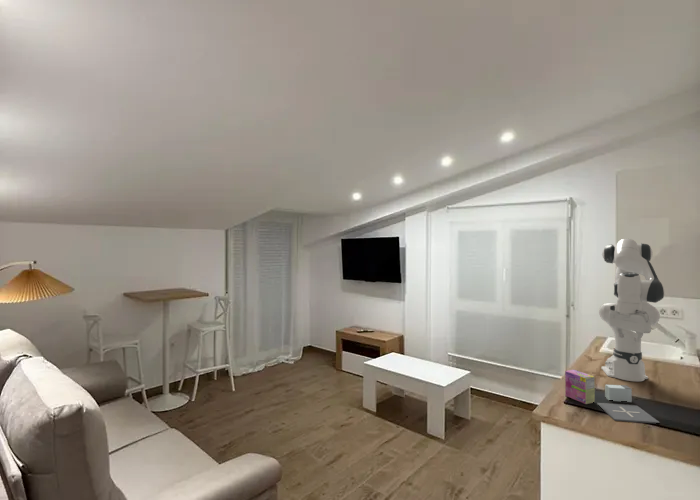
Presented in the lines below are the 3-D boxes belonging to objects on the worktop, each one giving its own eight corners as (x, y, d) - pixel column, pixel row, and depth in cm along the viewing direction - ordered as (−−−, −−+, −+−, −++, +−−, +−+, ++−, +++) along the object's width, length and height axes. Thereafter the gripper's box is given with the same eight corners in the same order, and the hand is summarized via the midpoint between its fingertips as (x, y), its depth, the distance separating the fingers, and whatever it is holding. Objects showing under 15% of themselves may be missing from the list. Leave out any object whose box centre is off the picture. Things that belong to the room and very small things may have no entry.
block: (604, 397, 176) (605, 384, 176) (626, 398, 175) (626, 385, 175) (609, 400, 172) (609, 387, 172) (631, 402, 171) (631, 388, 171)
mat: (596, 404, 169) (596, 402, 169) (636, 406, 166) (636, 405, 166) (614, 420, 153) (614, 418, 153) (659, 423, 150) (659, 422, 150)
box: (564, 395, 178) (565, 370, 178) (573, 394, 180) (574, 369, 180) (585, 404, 168) (585, 377, 168) (594, 402, 170) (595, 376, 170)
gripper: (655, 312, 162) (655, 344, 162) (619, 306, 182) (618, 335, 182) (641, 311, 162) (641, 344, 161) (606, 306, 182) (606, 335, 182)
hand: (629, 339), depth 172 cm, fingers open, 8 cm apart
